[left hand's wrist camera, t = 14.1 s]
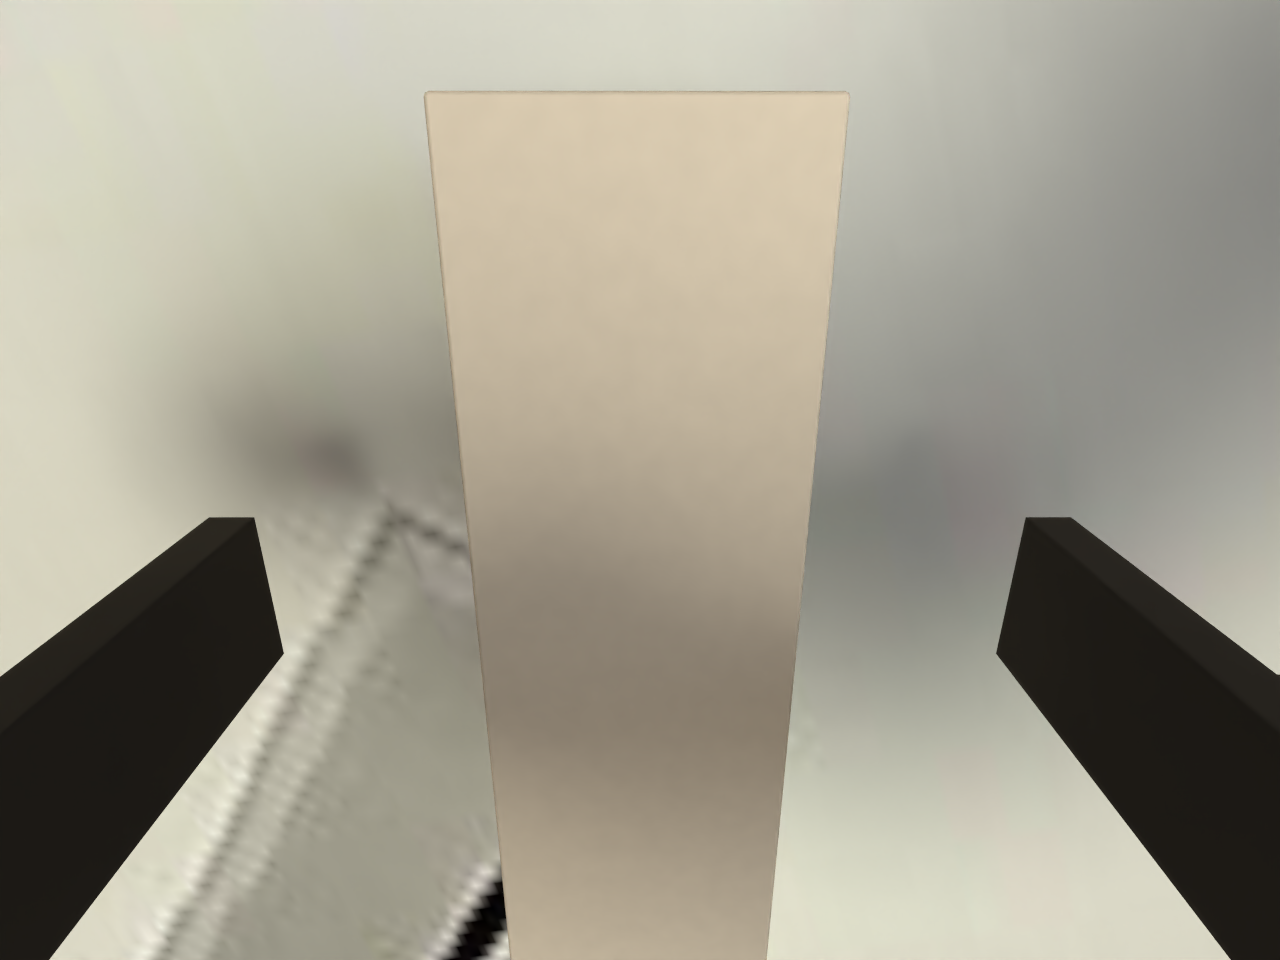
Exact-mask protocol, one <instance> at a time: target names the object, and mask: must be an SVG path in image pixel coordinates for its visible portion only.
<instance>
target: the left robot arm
mask: <svg viewBox="0 0 1280 960" xmlns="http://www.w3.org/2000/svg"><path fill="white" fill-rule="evenodd" d="M283 654H284V652H283V648H282V643H281V638H280V634H279V629H278V625H277V620H276V615H275V611H274V606H273V602H272V597H271V592H270V588H269V583H268V579H267V574H266V570H265V565H264V560H263V556H262V551H261V547H260V542H259V537H258V533H257V528H256V524H255V519H254V517H209V518H208V519H207V520H205V521H204V522H203V523H201V524H200V525H199V526H197V527H196V528H195V529H193V530H192V531H191V532H189V533H188V534H187V535H186V536H184V537H183V538H182V539H180V540H179V541H178V542H176V543H175V544H174V545H172V546H171V547H170V548H168V549H167V550H166V551H165V552H163V553H162V554H161V555H159V556H158V557H157V558H155V559H154V560H153V561H151V562H150V563H149V564H148V565H146V566H145V567H144V568H142V569H141V570H140V571H138V572H137V573H136V574H134V575H133V576H132V577H130V578H129V579H128V580H127V581H125V582H124V583H123V584H121V585H120V586H119V587H117V588H116V589H115V590H113V591H112V592H111V593H109V594H108V595H107V596H106V597H104V598H103V599H102V600H100V601H99V602H98V603H96V604H95V605H94V606H92V607H91V608H90V609H89V610H87V611H86V612H85V613H83V614H82V615H81V616H79V617H78V618H77V619H75V620H74V621H73V622H71V623H70V624H69V625H68V626H66V627H65V628H64V629H62V630H61V631H60V632H58V633H57V634H56V635H54V636H53V637H52V638H50V639H49V640H48V641H47V642H45V643H44V644H43V645H41V646H40V647H39V648H37V649H36V650H35V651H33V652H32V653H31V654H30V655H28V656H27V657H26V658H24V659H23V660H22V661H20V662H19V663H18V664H16V665H15V666H14V667H12V668H11V669H10V670H9V671H7V672H6V673H5V674H3V675H2V676H1V677H0V960H49V959H50V958H51V957H52V955H53V954H54V953H55V951H56V950H57V949H58V947H59V946H60V945H61V943H62V942H63V941H64V940H65V938H66V937H67V936H68V934H69V933H70V932H71V930H72V929H73V928H74V927H75V925H76V924H77V923H78V921H79V920H80V919H81V917H82V916H83V915H84V913H85V912H86V911H87V910H88V908H89V907H90V906H91V904H92V903H93V902H94V900H95V899H96V898H97V897H98V895H99V894H100V893H101V891H102V890H103V889H104V887H105V886H106V885H107V883H108V882H109V881H110V880H111V878H112V877H113V876H114V874H115V873H116V872H117V870H118V869H119V868H120V867H121V865H122V864H123V863H124V861H125V860H126V859H127V857H128V856H129V855H130V853H131V852H132V851H133V850H134V848H135V847H136V846H137V844H138V843H139V842H140V840H141V839H142V838H143V837H144V835H145V834H146V833H147V831H148V830H149V829H150V827H151V826H152V825H153V823H154V822H155V821H156V820H157V818H158V817H159V816H160V814H161V813H162V812H163V810H164V809H165V808H166V807H167V805H168V804H169V803H170V801H171V800H172V799H173V797H174V796H175V795H176V793H177V792H178V791H179V790H180V788H181V787H182V786H183V784H184V783H185V782H186V780H187V779H188V778H189V777H190V775H191V774H192V773H193V771H194V770H195V769H196V767H197V766H198V765H199V763H200V762H201V761H202V760H203V758H204V757H205V756H206V754H207V753H208V752H209V750H210V749H211V748H212V747H213V745H214V744H215V743H216V741H217V740H218V739H219V737H220V736H221V735H222V733H223V732H224V731H225V730H226V728H227V727H228V726H229V724H230V723H231V722H232V720H233V719H234V718H235V717H236V715H237V714H238V713H239V711H240V710H241V709H242V707H243V706H244V705H245V703H246V702H247V701H248V700H249V698H250V697H251V696H252V694H253V693H254V692H255V690H256V689H257V688H258V687H259V685H260V684H261V683H262V681H263V680H264V679H265V677H266V676H267V675H268V673H269V672H270V671H271V670H272V668H273V667H274V666H275V664H276V663H277V662H278V660H279V659H280V658H281V657H282V655H283ZM996 654H997V655H998V657H999V658H1000V659H1001V660H1002V662H1003V663H1004V664H1005V666H1006V667H1007V668H1008V670H1009V671H1010V672H1011V673H1012V675H1013V676H1014V677H1015V679H1016V680H1017V681H1018V683H1019V684H1020V685H1021V687H1022V688H1023V689H1024V690H1025V692H1026V693H1027V694H1028V696H1029V697H1030V698H1031V700H1032V701H1033V702H1034V703H1035V705H1036V706H1037V707H1038V709H1039V710H1040V711H1041V713H1042V714H1043V715H1044V717H1045V718H1046V719H1047V720H1048V722H1049V723H1050V724H1051V726H1052V727H1053V728H1054V730H1055V731H1056V732H1057V733H1058V735H1059V736H1060V737H1061V739H1062V740H1063V741H1064V743H1065V744H1066V745H1067V747H1068V748H1069V749H1070V750H1071V752H1072V753H1073V754H1074V756H1075V757H1076V758H1077V760H1078V761H1079V762H1080V763H1081V765H1082V766H1083V767H1084V769H1085V770H1086V771H1087V773H1088V774H1089V775H1090V777H1091V778H1092V779H1093V780H1094V782H1095V783H1096V784H1097V786H1098V787H1099V788H1100V790H1101V791H1102V792H1103V793H1104V795H1105V796H1106V797H1107V799H1108V800H1109V801H1110V803H1111V804H1112V805H1113V807H1114V808H1115V809H1116V810H1117V812H1118V813H1119V814H1120V816H1121V817H1122V818H1123V820H1124V821H1125V822H1126V823H1127V825H1128V826H1129V827H1130V829H1131V830H1132V831H1133V833H1134V834H1135V835H1136V837H1137V838H1138V839H1139V840H1140V842H1141V843H1142V844H1143V846H1144V847H1145V848H1146V850H1147V851H1148V852H1149V853H1150V855H1151V856H1152V857H1153V859H1154V860H1155V861H1156V863H1157V864H1158V865H1159V867H1160V868H1161V869H1162V870H1163V872H1164V873H1165V874H1166V876H1167V877H1168V878H1169V880H1170V881H1171V882H1172V883H1173V885H1174V886H1175V887H1176V889H1177V890H1178V891H1179V893H1180V894H1181V895H1182V897H1183V898H1184V899H1185V900H1186V902H1187V903H1188V904H1189V906H1190V907H1191V908H1192V910H1193V911H1194V912H1195V913H1196V915H1197V916H1198V917H1199V919H1200V920H1201V921H1202V923H1203V924H1204V925H1205V927H1206V928H1207V929H1208V930H1209V932H1210V933H1211V934H1212V936H1213V937H1214V938H1215V940H1216V941H1217V942H1218V944H1219V945H1220V946H1221V947H1222V949H1223V950H1224V951H1225V953H1226V954H1227V955H1228V957H1229V958H1230V959H1231V960H1280V675H1277V674H1275V673H1274V672H1273V671H1271V670H1270V669H1269V668H1268V667H1266V666H1265V665H1264V664H1262V663H1261V662H1260V661H1258V660H1257V659H1256V658H1254V657H1253V656H1252V655H1250V654H1249V653H1248V652H1247V651H1245V650H1244V649H1243V648H1241V647H1240V646H1239V645H1237V644H1236V643H1235V642H1233V641H1232V640H1231V639H1230V638H1228V637H1227V636H1226V635H1224V634H1223V633H1222V632H1220V631H1219V630H1218V629H1216V628H1215V627H1214V626H1212V625H1211V624H1210V623H1209V622H1207V621H1206V620H1205V619H1203V618H1202V617H1201V616H1199V615H1198V614H1197V613H1195V612H1194V611H1193V610H1191V609H1190V608H1189V607H1188V606H1186V605H1185V604H1184V603H1182V602H1181V601H1180V600H1178V599H1177V598H1176V597H1174V596H1173V595H1172V594H1171V593H1169V592H1168V591H1167V590H1165V589H1164V588H1163V587H1161V586H1160V585H1159V584H1157V583H1156V582H1155V581H1153V580H1152V579H1151V578H1150V577H1148V576H1147V575H1146V574H1144V573H1143V572H1142V571H1140V570H1139V569H1138V568H1136V567H1135V566H1134V565H1132V564H1131V563H1130V562H1129V561H1127V560H1126V559H1125V558H1123V557H1122V556H1121V555H1119V554H1118V553H1117V552H1115V551H1114V550H1113V549H1112V548H1110V547H1109V546H1108V545H1106V544H1105V543H1104V542H1102V541H1101V540H1100V539H1098V538H1097V537H1096V536H1094V535H1093V534H1092V533H1091V532H1089V531H1088V530H1087V529H1085V528H1084V527H1083V526H1081V525H1080V524H1079V523H1077V522H1076V521H1075V520H1073V519H1072V518H1071V517H1026V519H1025V524H1024V528H1023V533H1022V537H1021V542H1020V547H1019V551H1018V556H1017V560H1016V565H1015V570H1014V574H1013V579H1012V583H1011V588H1010V592H1009V597H1008V602H1007V606H1006V611H1005V615H1004V620H1003V625H1002V629H1001V634H1000V638H999V643H998V648H997V652H996Z"/></svg>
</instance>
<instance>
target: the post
mask: <svg viewBox="0 0 1280 960" xmlns="http://www.w3.org/2000/svg"><path fill="white" fill-rule="evenodd" d="M849 102H850V95H849V93H848V92H846V91H427V92H425V94H424V104H425V114H426V124H427V134H428V144H429V154H430V164H431V174H432V184H433V193H434V203H435V213H436V223H437V233H438V243H439V253H440V263H441V273H442V283H443V293H444V303H445V313H446V323H447V333H448V342H449V352H450V362H451V372H452V382H453V392H454V402H455V412H456V422H457V432H458V442H459V452H460V462H461V472H462V482H463V492H464V501H465V511H466V521H467V531H468V541H469V551H470V561H471V571H472V581H473V591H474V601H475V611H476V621H477V631H478V641H479V650H480V660H481V670H482V680H483V690H484V700H485V710H486V720H487V730H488V740H489V750H490V760H491V770H492V780H493V790H494V799H495V809H496V819H497V829H498V839H499V849H500V859H501V869H502V879H503V889H504V899H505V909H506V919H507V929H508V939H509V948H510V958H511V960H766V959H767V949H768V939H769V928H770V918H771V908H772V897H773V887H774V877H775V866H776V856H777V846H778V835H779V825H780V815H781V804H782V794H783V784H784V774H785V763H786V753H787V743H788V732H789V722H790V712H791V701H792V691H793V681H794V670H795V660H796V650H797V639H798V629H799V619H800V608H801V598H802V588H803V577H804V567H805V557H806V546H807V536H808V526H809V515H810V505H811V495H812V484H813V474H814V464H815V453H816V443H817V433H818V423H819V412H820V402H821V392H822V381H823V371H824V361H825V350H826V340H827V330H828V319H829V309H830V299H831V288H832V278H833V268H834V257H835V247H836V237H837V226H838V216H839V206H840V195H841V185H842V175H843V164H844V154H845V144H846V133H847V123H848V113H849Z"/></svg>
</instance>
